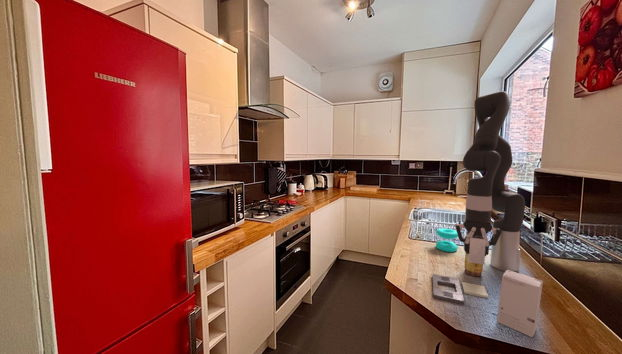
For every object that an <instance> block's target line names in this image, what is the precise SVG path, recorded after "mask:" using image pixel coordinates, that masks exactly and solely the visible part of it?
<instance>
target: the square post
mask: <svg viewBox="0 0 622 354" xmlns="http://www.w3.org/2000/svg"><path fill="white" fill-rule="evenodd" d="M485 245H486V239H483V238H482V237H480V236H472V237H470V242H469V254H467V259H468V261H469V262H470V263H477V264H483V266H484V265H485V260H486V259H485V258H486V256H485Z"/></svg>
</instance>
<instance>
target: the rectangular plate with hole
mask: <svg viewBox="0 0 622 354" xmlns="http://www.w3.org/2000/svg"><path fill="white" fill-rule="evenodd" d="M431 275H432V277H431V278H432V291H433V299H437V300H442V301H446V302H450V303H454V304H455V303H456V304H460V305H465V299H464V296H463V291H462V287H461V282H460V279H459V278H457V277H452V276H446V275H440V274H436V273H432V274H431ZM439 285H444V286H448V287H454V289H455V291H453V290H448V289H443V288H439Z"/></svg>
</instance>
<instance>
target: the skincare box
mask: <svg viewBox="0 0 622 354" xmlns="http://www.w3.org/2000/svg"><path fill="white" fill-rule="evenodd" d="M501 277H502V278H501V285H500V292H499V293H500V294H499V300H498V308H497V309H498V310H497V317H496V322H497V323H498V324H501V325H503V326H506V327H508V328H509V329H512V330H515V331H516V332H519V333H522V334H523V335H526V336H528V337H530V338H533V337H534V335H535V333H536V330H537V326H538V319H539V313H540V312H539V311H540V304H541V297H542V290H543V283H544V281H543V280H541V279H538V278H534V277H533V276H532V277H531V276H529V275H526V274H523V273H519V272H517V271H515V272H513V271H510V270H506V271H504V273H503V274H502V276H501Z"/></svg>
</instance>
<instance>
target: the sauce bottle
mask: <svg viewBox="0 0 622 354" xmlns="http://www.w3.org/2000/svg"><path fill="white" fill-rule="evenodd" d="M464 252H465V251H464ZM463 267H464V272H465V274H467V275H470V276H474V277H481V276H482V275H483V269H484V265H483V264H477V263H470V262H469V261H468V259H467V253H466V252H465V254H464V266H463Z"/></svg>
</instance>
